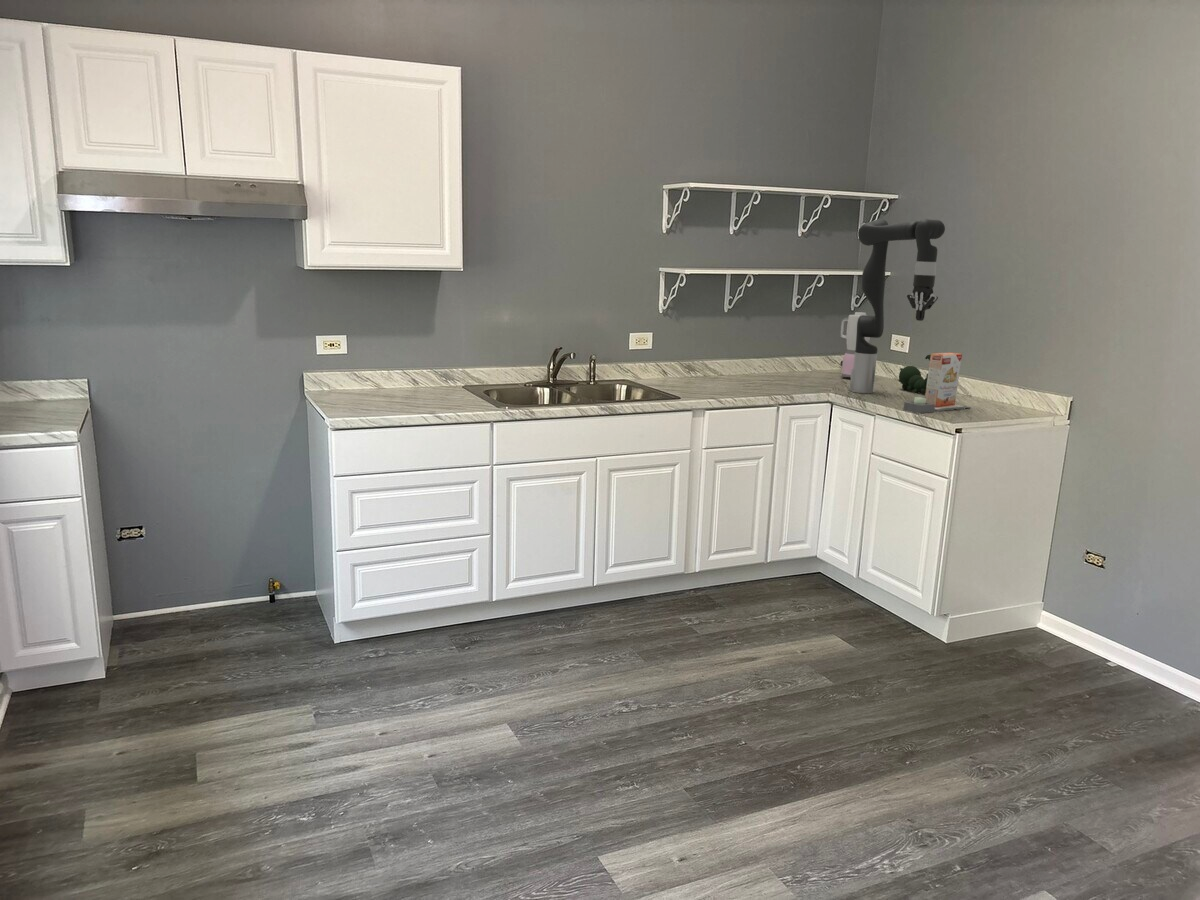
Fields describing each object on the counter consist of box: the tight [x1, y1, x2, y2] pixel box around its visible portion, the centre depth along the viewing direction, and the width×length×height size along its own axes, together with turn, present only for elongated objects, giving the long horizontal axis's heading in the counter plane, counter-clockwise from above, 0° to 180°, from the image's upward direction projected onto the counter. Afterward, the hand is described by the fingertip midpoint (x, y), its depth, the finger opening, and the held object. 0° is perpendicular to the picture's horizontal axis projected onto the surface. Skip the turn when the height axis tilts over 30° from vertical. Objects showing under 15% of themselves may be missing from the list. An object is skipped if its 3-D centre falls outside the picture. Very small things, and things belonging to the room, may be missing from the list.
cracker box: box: [924, 352, 963, 407], centre depth 345 cm, size 14×6×21 cm, turn 128°
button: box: [913, 396, 926, 405], centre depth 336 cm, size 4×4×4 cm
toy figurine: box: [898, 354, 931, 394], centre depth 384 cm, size 9×19×25 cm
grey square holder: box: [903, 400, 935, 414], centre depth 336 cm, size 8×8×3 cm
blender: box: [839, 311, 871, 379], centre depth 421 cm, size 16×12×32 cm
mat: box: [934, 403, 971, 412], centre depth 347 cm, size 14×20×1 cm
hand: (919, 320), depth 329 cm, fingers closed
